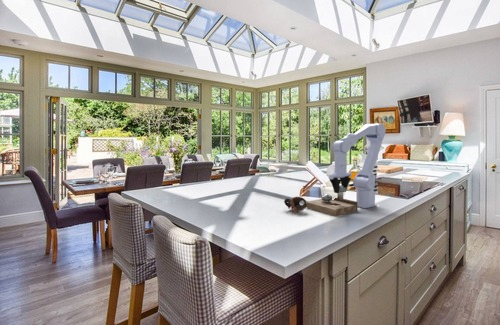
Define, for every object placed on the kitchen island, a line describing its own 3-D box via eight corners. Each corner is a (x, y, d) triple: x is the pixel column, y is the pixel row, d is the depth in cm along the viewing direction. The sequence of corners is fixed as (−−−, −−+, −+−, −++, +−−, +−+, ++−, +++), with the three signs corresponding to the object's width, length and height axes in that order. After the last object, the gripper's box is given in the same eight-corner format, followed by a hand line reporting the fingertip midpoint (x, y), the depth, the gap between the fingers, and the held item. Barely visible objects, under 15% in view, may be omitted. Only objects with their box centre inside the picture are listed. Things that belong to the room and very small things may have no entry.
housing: (327, 202, 163) (327, 195, 162) (357, 210, 146) (357, 201, 145) (305, 207, 154) (305, 199, 154) (335, 215, 137) (335, 206, 137)
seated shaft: (326, 206, 156) (326, 193, 155) (333, 208, 152) (333, 194, 151) (319, 207, 153) (319, 194, 153) (326, 209, 149) (326, 196, 148)
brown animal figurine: (307, 209, 152) (310, 198, 147) (302, 222, 145) (304, 210, 140) (285, 202, 156) (287, 190, 151) (279, 213, 149) (280, 202, 144)
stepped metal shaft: (340, 197, 149) (340, 184, 148) (348, 199, 144) (348, 185, 144) (332, 199, 147) (332, 185, 146) (340, 201, 142) (340, 186, 141)
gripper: (343, 163, 151) (343, 189, 152) (324, 165, 143) (323, 192, 145) (355, 164, 145) (354, 191, 147) (335, 166, 137) (335, 195, 139)
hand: (340, 192), depth 145 cm, fingers closed on stepped metal shaft, 5 cm apart
